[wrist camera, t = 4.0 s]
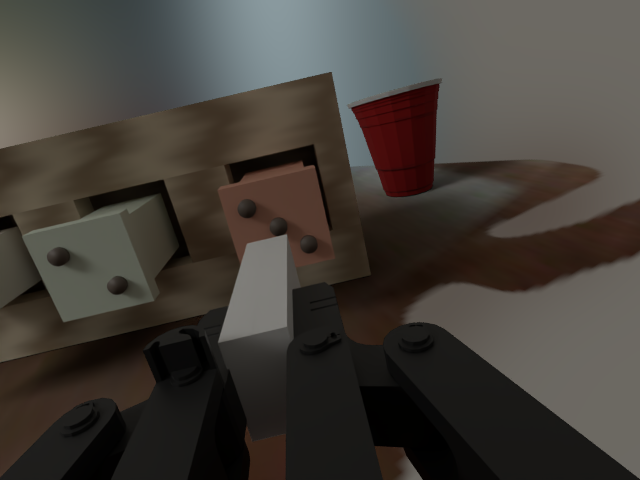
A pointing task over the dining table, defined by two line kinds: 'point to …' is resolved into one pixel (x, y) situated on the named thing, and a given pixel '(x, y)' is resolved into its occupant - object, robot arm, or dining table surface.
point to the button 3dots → (279, 211)
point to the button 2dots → (105, 257)
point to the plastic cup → (401, 136)
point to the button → (15, 266)
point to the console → (177, 199)
